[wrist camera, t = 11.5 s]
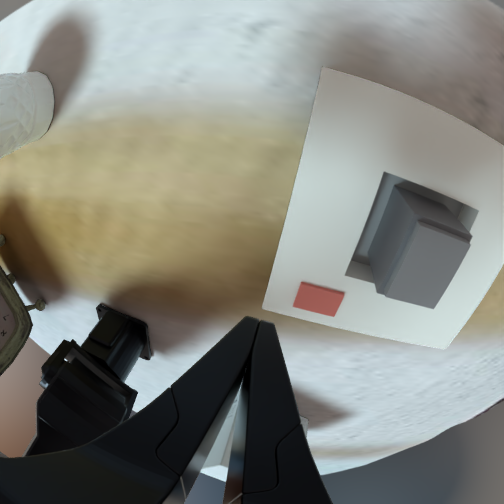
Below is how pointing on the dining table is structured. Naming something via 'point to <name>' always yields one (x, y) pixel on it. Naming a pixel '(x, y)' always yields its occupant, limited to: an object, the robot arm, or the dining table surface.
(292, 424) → the robot arm
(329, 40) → the dining table surface
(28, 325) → the tabletop clock
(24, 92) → the white cup
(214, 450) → the skincare box
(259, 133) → the dining table surface
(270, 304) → the socket plate
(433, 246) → the plug
